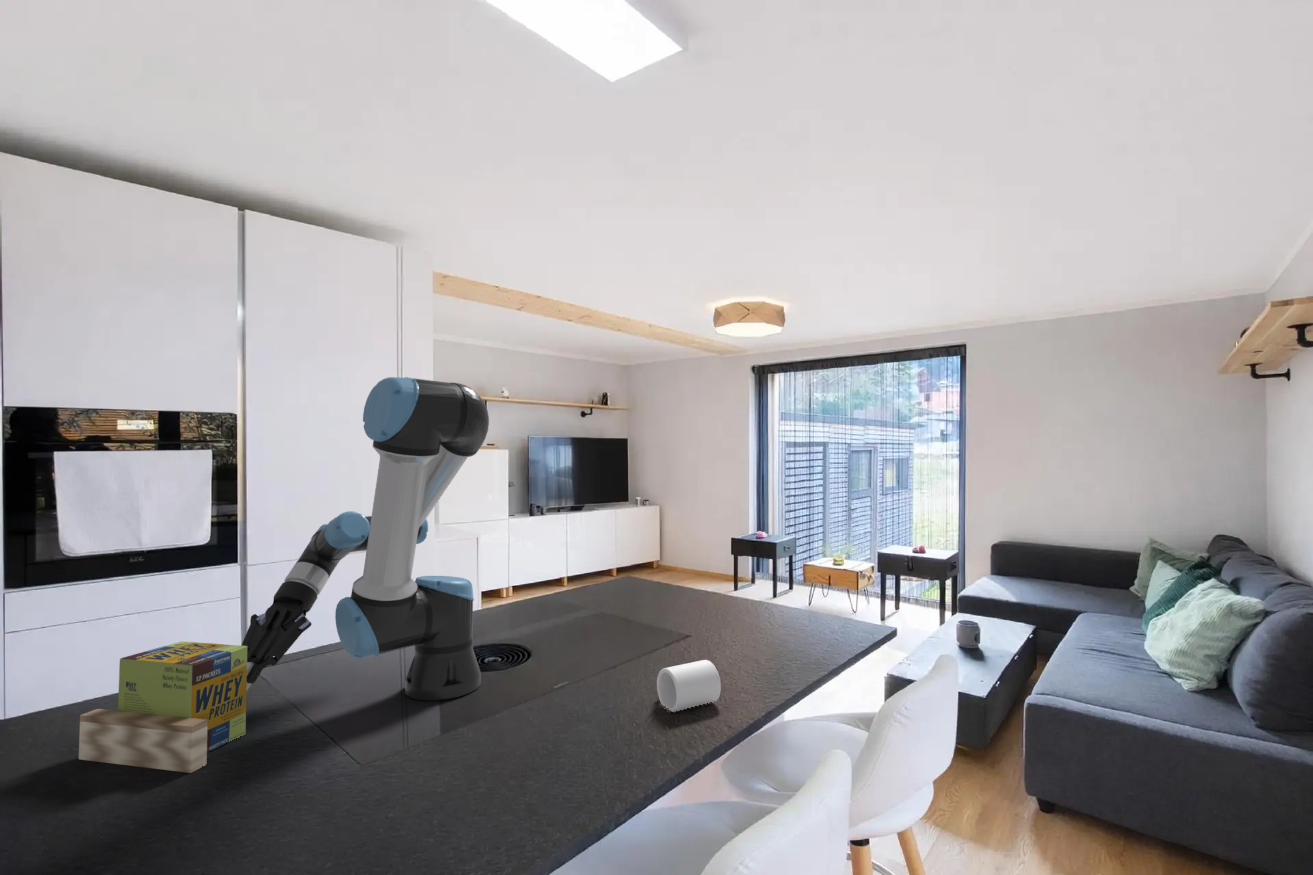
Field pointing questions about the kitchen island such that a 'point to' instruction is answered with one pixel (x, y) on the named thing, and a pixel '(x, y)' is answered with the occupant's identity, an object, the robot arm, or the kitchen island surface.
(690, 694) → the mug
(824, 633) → the kitchen island surface
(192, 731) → the rail
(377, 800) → the kitchen island surface
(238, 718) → the protein box
